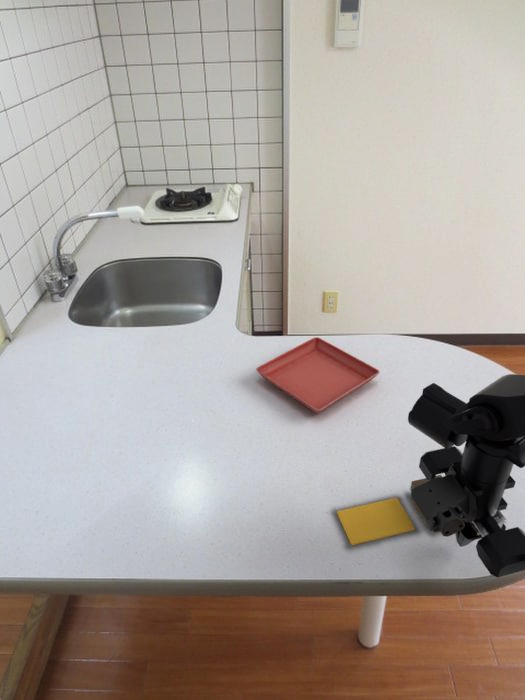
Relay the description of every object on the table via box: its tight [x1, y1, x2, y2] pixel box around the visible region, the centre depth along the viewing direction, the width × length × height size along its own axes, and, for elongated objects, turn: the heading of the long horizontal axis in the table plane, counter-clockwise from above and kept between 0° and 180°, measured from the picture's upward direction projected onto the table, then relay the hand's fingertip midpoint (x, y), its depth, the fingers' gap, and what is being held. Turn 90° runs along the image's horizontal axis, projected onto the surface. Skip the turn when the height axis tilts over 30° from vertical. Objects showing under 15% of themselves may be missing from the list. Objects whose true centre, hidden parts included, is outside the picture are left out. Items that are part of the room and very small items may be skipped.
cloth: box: [336, 497, 416, 546], centre depth 79 cm, size 10×6×1 cm, turn 104°
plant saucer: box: [255, 336, 380, 414], centre depth 106 cm, size 18×18×3 cm
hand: (461, 544), depth 74 cm, fingers closed
